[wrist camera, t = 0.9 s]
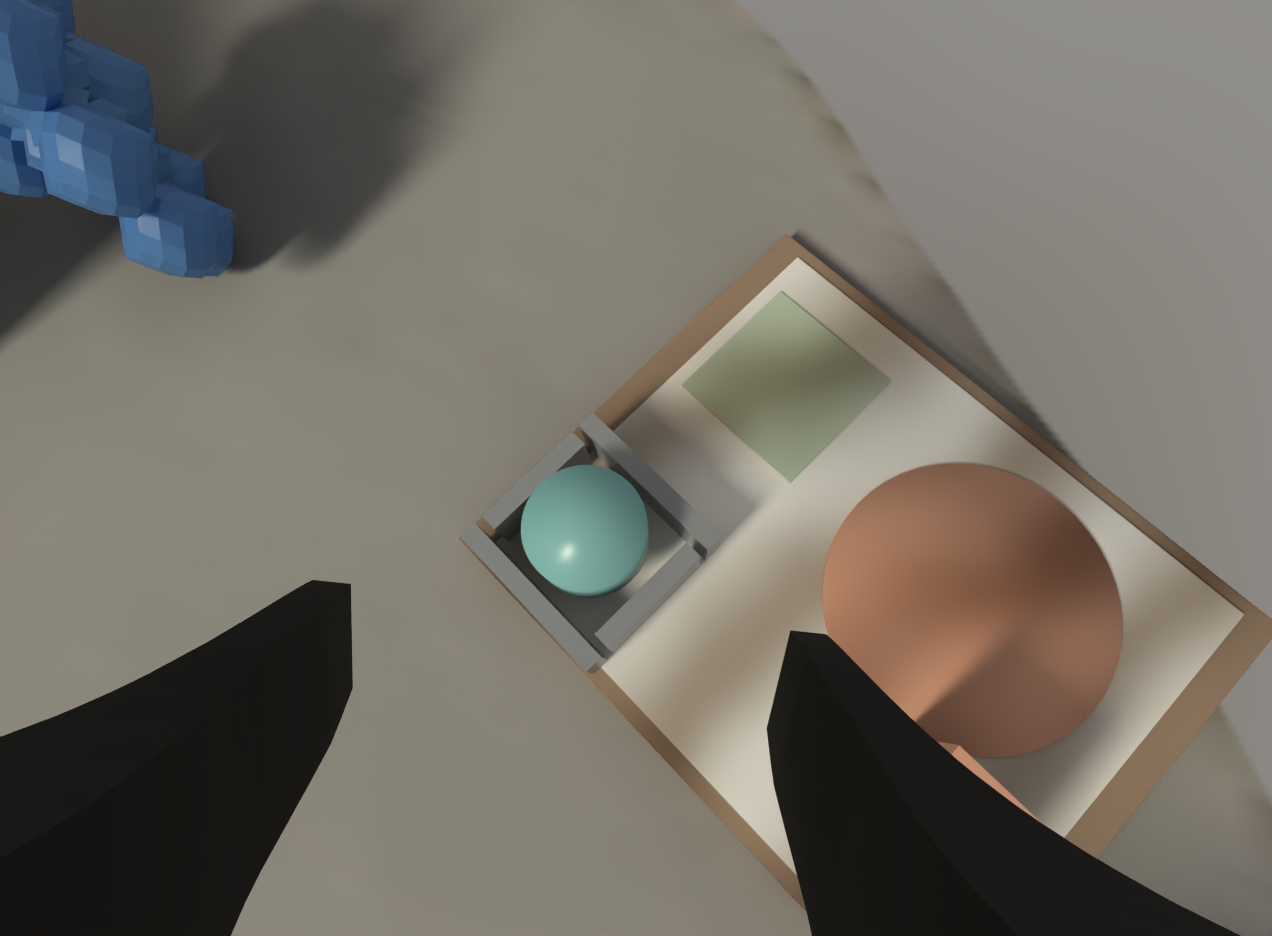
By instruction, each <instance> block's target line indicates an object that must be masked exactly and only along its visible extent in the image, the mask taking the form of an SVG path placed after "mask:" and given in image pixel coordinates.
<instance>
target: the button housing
mask: <svg viewBox="0 0 1272 936" xmlns="http://www.w3.org/2000/svg"><path fill="white" fill-rule="evenodd" d="M579 427H580V430H581V433H582V435H583V438H584V441H585V443H586V446H588V447H589V448H590V449H591V450H592V451H593V452H594V453H595V454H596V455H597V456H598V457H599V458H600V459H601V460H602V461H603V462H604V463H605V464H606V465H607V466H608V467H609V468H610V469H611V470H612V471H614V472H616V473H618V474H619V475H621V476H623V477H624V478H625V479H626V480H627V481H629V482H630V483H631V485H632V486H633V487H634V488H635V489H636V491H637V492H638V494H639V495H640V497H641V499H642V500H643V501H644V502H645V503H646V504H647V505H649V506H650V507H651V508H652V509H653V510H654V511H655V512H656V513H657V514H658V515H659V516H660V517H661V518H662V519H663V520H664V521H665V522H666V523H667V524H668V525H669V526H670V527H671V528H672V529H673V530H674V531H675V532H676V533H677V534H678V535H680V536H681V537H682V538H683V539H684V540H685V541H686V542H687V543H685V544H684V545H683V546H682V547H681V548H680V549H679V550H678V551H677V552H676V553H675V554H674V555H673V556H672V557H671V558H670V559H669V560H668V561H667V562H666V563H665V564H664V565H663V566H662V567H661V568H660V569H659V570H658V571H657V572H656V573H655V574H654V575H653V576H652V577H651V578H650V579H649V580H648V581H647V582H646V583H645V584H644V585H643V586H642V587H641V588H640V589H639V590H638V591H637V592H636V593H635V594H634V595H633V596H632V597H631V598H630V599H629V600H628V601H627V602H626V603H625V604H624V605H623V606H622V607H621V608H620V609H619V610H618V611H617V612H616V613H615V614H614V615H613V616H612V617H611V618H610V619H609V620H608V621H607V622H606V623H605V624H604V625H603V626H602V627H601V628H600V629H599V630H598V631H597V632H596V633H595V635H596V636H597V638H598V639H599V640H600V641H601V642H602V643H603V644H604V645H605V646H606V647H607V648H608V649H609V650H611V651H612V652H614V653H615V652H616V651H617V650H618V649H619V648H620V647H621V646H622V645H623V644H624V643H625V642H626V641H627V640H628V639H629V638H630V637H631V636H632V635H633V634H634V633H635V632H636V631H637V630H638V629H639V628H640V627H641V626H642V625H643V624H644V623H645V622H646V621H647V620H648V618H649V617H650V616H651V615H652V614H653V613H654V612H655V611H656V610H657V609H658V608H659V607H660V606H661V605H662V604H663V603H664V602H665V601H666V600H667V599H668V598H669V597H670V596H671V595H672V594H673V593H674V592H675V591H676V590H677V589H678V588H679V587H680V586H681V585H682V584H683V583H684V582H685V581H686V580H687V579H688V578H689V577H690V576H691V575H692V574H693V573H694V572H695V571H696V570H697V569H698V568H699V565H700V558H701V557H702V558H703V559H704V560H705V561H706V560H707V559H708V558H709V557H710V556H711V555H712V554H713V553H714V552H715V551H716V550H717V549H718V548H719V544H720V540H721V536H722V535H721V534H720V533H719V532H718V531H717V530H716V529H715V528H714V527H713V526H712V525H711V524H710V523H709V522H708V521H706V520H705V519H704V518H703V517H702V516H701V515H700V514H699V513H698V512H697V511H696V510H695V509H694V508H693V507H692V506H691V505H690V504H689V503H688V502H686V501H685V500H684V499H683V498H682V497H681V496H680V495H679V494H678V493H677V492H676V491H675V490H674V489H673V488H672V487H671V486H670V485H669V484H667V483H666V482H665V481H664V480H663V479H662V478H661V477H660V476H659V475H658V474H657V473H656V472H655V471H654V470H653V469H652V468H651V467H650V466H649V465H647V464H646V463H645V462H644V461H643V460H642V459H641V458H640V457H639V456H638V455H637V454H636V453H635V452H634V451H633V450H632V449H631V448H630V447H628V446H627V445H626V444H625V443H624V442H623V441H622V440H621V439H620V438H619V437H618V436H617V435H616V434H615V433H614V432H613V431H612V430H611V429H610V428H608V427H607V426H606V425H605V424H604V423H603V422H602V421H601V420H600V419H599V418H598V417H597V416H596V415H595V414H594V413H593V412H592V413H591V414H590V415H589V416H588V417H587V418H586V419H585V420H584V421H583V422H582V423H581V424H579ZM586 446H585V444H584V443H583V442H582V441H581V440H580V439H579V438H578V437H577V436H576V435H575V434H574V433H573V432H571V433H570V434H569V435H568V436H567V437H566V438H564V439H563V440H562V441H561V442H560V443H559V444H558V445H557V446H556V447H555V448H554V449H553V450H552V451H551V452H549V453H548V454H547V455H546V456H545V457H544V458H543V459H542V460H541V461H540V462H539V463H538V464H537V465H536V466H534V467H533V468H532V469H531V470H530V471H529V472H528V473H527V474H526V475H525V476H524V477H523V478H522V479H521V480H519V481H518V482H517V483H516V484H515V485H514V486H513V487H512V488H511V489H510V490H509V491H508V492H507V493H505V494H504V495H503V496H502V497H501V498H500V499H499V500H498V501H497V502H496V503H495V504H494V505H493V506H492V507H490V508H489V509H488V510H487V511H486V512H485V513H484V514H483V515H482V517H483V518H484V519H485V520H486V521H487V522H488V523H489V524H490V525H491V526H492V527H493V528H494V529H495V530H496V531H497V532H498V533H499V534H500V535H501V536H503V537H504V538H505V539H506V540H507V541H508V542H509V541H510V540H511V539H513V538H514V537H515V536H516V535H517V534H518V533H519V532H520V531H521V520H522V515H523V511H524V508H525V506H526V503H527V501H528V499H529V498H530V496H531V494H532V493H533V491H534V490H535V489H536V488H537V487H538V486H539V484H540V483H541V482H543V481H544V480H545V479H546V478H547V477H549V476H551V475H552V474H554V473H556V472H558V471H560V470H562V469H565V468H568V467H572V466H577V465H591V464H592V462H591V459H590V456H589V454H588V451H587V448H586ZM460 537H461V538H462V539H463V541H464V542H465V543H466V544H467V545H468V546H469V547H470V548H471V549H472V550H473V551H474V552H475V553H476V554H477V556H478V557H479V558H480V559H481V560H482V561H483V562H484V563H485V564H486V565H487V566H488V567H489V568H490V569H491V571H492V572H493V573H494V574H495V575H496V576H497V577H498V578H499V579H500V580H501V581H502V582H503V583H504V585H505V586H506V587H507V588H508V589H509V590H510V591H511V592H512V593H513V594H514V595H515V596H516V597H517V598H518V600H519V601H520V602H521V603H522V604H523V605H524V606H525V607H526V608H527V609H528V610H529V611H530V612H531V613H532V615H533V616H534V617H535V618H536V619H537V620H538V621H539V622H540V623H541V624H542V625H543V626H544V627H545V629H546V630H547V631H548V632H549V633H550V634H551V635H552V636H553V637H554V638H555V639H556V640H557V641H558V642H559V644H560V645H561V646H562V647H563V648H564V649H565V650H566V651H567V652H568V653H569V654H570V655H571V656H572V657H573V659H574V660H575V661H576V662H577V663H578V664H579V665H580V666H581V667H582V668H583V669H584V670H585V671H586V672H588V673H592V674H594V673H595V672H596V671H597V670H598V669H599V668H600V667H601V666H602V665H603V664H604V663H605V662H606V661H607V659H606V658H605V657H604V656H603V655H602V654H601V653H600V651H599V650H598V649H597V648H596V647H595V646H594V645H593V644H592V643H591V642H590V641H589V640H588V639H587V638H586V637H585V636H584V635H583V633H582V632H581V631H580V630H579V629H578V628H577V627H576V626H575V625H574V624H573V623H572V622H571V621H570V620H569V619H568V618H567V617H566V616H565V614H564V613H563V612H562V611H561V610H560V609H559V608H558V607H557V606H556V605H555V604H554V603H553V602H552V601H551V600H550V599H549V598H548V597H547V595H546V594H545V593H544V592H543V591H542V590H541V589H540V588H539V587H538V586H537V585H536V584H535V583H534V582H533V581H532V580H531V579H530V577H529V576H528V575H527V574H526V573H525V572H524V571H523V570H522V569H521V568H520V567H519V566H518V565H517V564H516V563H515V562H514V561H513V560H512V558H511V557H510V556H509V555H508V554H507V553H506V552H505V551H504V550H503V549H502V548H501V547H500V546H499V545H498V544H497V543H496V542H495V540H494V539H493V538H492V537H491V536H490V535H489V534H487V533H486V532H485V531H484V530H483V529H481V528H480V527H479V526H478V525H477V524H475V523H473V524H472V525H471V526H470V527H469V528H468V529H467V530H466V531H465V532H464V533H463V534H462V535H460Z"/></svg>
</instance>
